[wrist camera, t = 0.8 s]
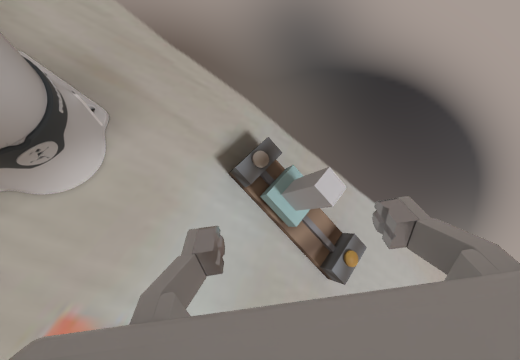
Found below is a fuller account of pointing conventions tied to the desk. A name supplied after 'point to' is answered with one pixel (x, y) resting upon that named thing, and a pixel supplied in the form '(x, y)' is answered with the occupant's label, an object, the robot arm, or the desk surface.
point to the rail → (312, 225)
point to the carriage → (302, 193)
